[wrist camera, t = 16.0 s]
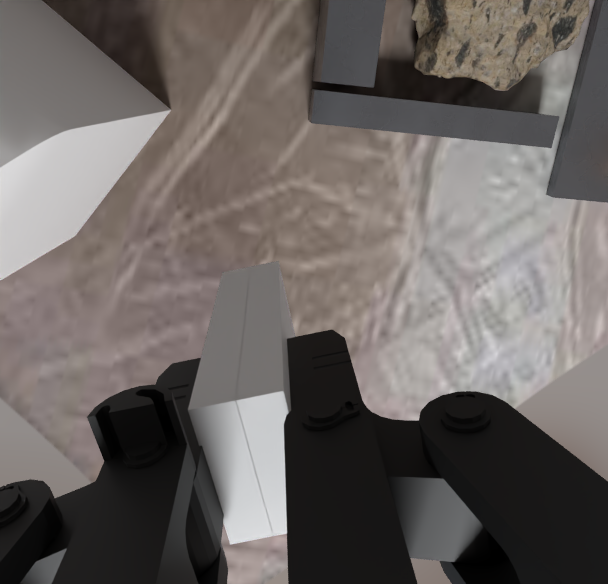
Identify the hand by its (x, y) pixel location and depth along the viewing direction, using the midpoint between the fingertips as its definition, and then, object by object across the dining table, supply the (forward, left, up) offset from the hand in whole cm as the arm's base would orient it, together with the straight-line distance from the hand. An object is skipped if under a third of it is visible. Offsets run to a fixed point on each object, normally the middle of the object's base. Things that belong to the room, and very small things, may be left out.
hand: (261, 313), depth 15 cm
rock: (-12, +14, -27) cm, 33 cm away
